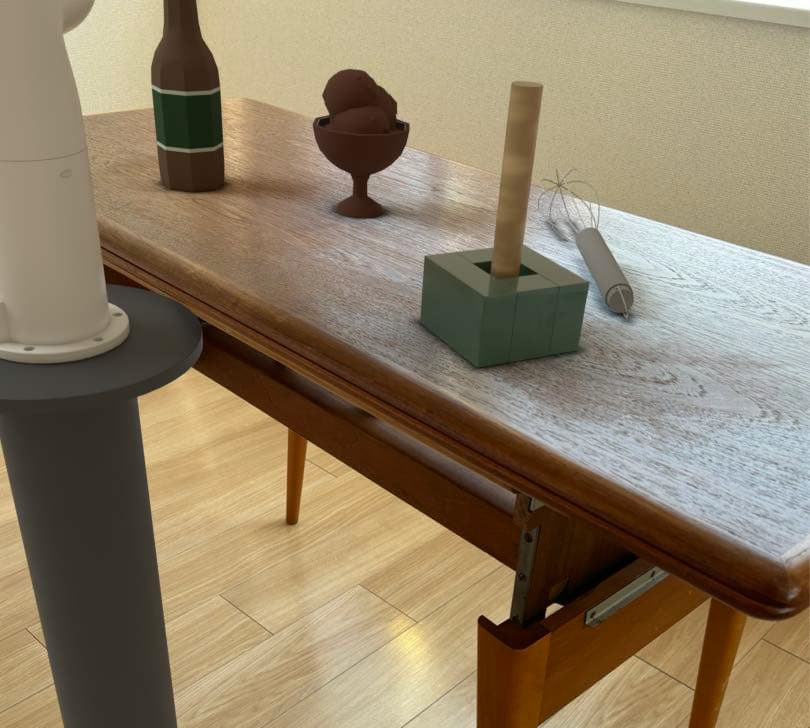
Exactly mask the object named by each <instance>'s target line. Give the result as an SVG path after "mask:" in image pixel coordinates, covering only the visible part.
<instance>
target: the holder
mask: <svg viewBox="0 0 810 728" xmlns="http://www.w3.org/2000/svg"><path fill="white" fill-rule="evenodd" d="M492 254H493V247H486V248H477V249H467V250H461V251H453V252H444V253H435V254H427V255H424V259H423V272H422V287H421V300H420V301H421V302H420V316H419V323H420V324H421V325H422V326H423V327H425V328H426V329H427V330H429V331H430V332H431V333H433V334H434V335H435V336H437V337H438V338H439V339H440V340H441V341H443V342H444V343H446V345H448V346H449V347H450V348H451V349H452V350H454V351H455V352H457V353H458V354H459V355H460V356H462V357H463V358H465V360H466V361H468V362H469V363H470V364H472V365H473V366H474V367H475V368H478V369H479V368H485V367H490V366H496V365H502V364H507V363H513V362H520V361H525V360H530V359H537V358H542V357H543V358H544V357H549V356H554V355H561V354H566V353H571V352H576V351H578V350H579V345H580V340H581V334H582V329H583V323H584V318H585V311H586V306H587V300H588V296H589V295H588V294H589V288H590V281H588V279H585V278H583V277H581V276H580V275H578V274H577V273H574V272H573V271H571V270H569V269H568V268H566V267H564V266H563V265H560V264H559V263H557V262H555V261H554V260H553V259H550V258H548V257H547V256H545V255H543V254H541V253H539V252H538V251H536V250H534V249H533V248H531V247H529V246H527V245H525V244H524V243H523V249H522V257H521V265H520V273H519V277H513V278H505V279H498V280H497V279H496V278H494V277H493V276H491V275H490V272H491V263H492Z"/></svg>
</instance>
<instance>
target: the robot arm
mask: <svg viewBox="0 0 810 728" xmlns="http://www.w3.org/2000/svg"><path fill="white" fill-rule="evenodd" d="M95 1H96V0H0V358H1V359H4V360H8V361H13V362H19V363H29V364H53V363H65V362H72V361H78V360H83V359H87V358H91V357H94V356H97V355H100V354H103V353H105V352H108V351H110V350H112V349H114V348H115V347H117V346H118V345H120V344H121V343H122V342H123V341H124V340H125V339H126V338H127V336H128V334H129V332H130V326H129V319H128V316H127V314H126V313H125V312H124V311H123V310H122V309H120V308H119V307H117V306H115V305H113V304H111V303H108V298H107V291H106V284H107V283H106V276H105V269H104V262H103V255H102V247H101V239H100V231H99V224H98V217H97V209H96V208H97V207H96V201H95V194H94V186H93V180H92V179H93V178H92V172H91V171H92V170H91V164H90V156H89V150H88V144H87V137H86V129H85V123H84V122H85V121H84V116H83V111H82V104H81V99H80V95H79V90H78V86H77V82H76V78H75V74H74V71H73V67H72V64H71V60H70V58H69V54H68V50H67V47H66V43H65V42H66V41H65V38H64V35H65V34H68V33H70V32H71V31H73V30H75V29H76V28H77V27H78V26H80V25H81V24H82V23H83V22H84V21H85V20H86V18H87V17H88V16H89V14H90V13H91V11H92V9H93V7H94V5H95Z"/></svg>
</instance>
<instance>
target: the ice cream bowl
mask: <svg viewBox="0 0 810 728" xmlns="http://www.w3.org/2000/svg"><path fill="white" fill-rule="evenodd" d="M321 97H322V99H323V103H324V106H325V108H326V110H327V112H328V114H327V115H321V116H319V117H315V118H314V120H313V121H312V130H313V135H314V140H315V142H316V144H317V147H318V149H319V151H320V152H321V154H323V156H324V157H325V159H326V160H328V162H330V163H331V164H332V165H334V166H335V167H336V168H338V169H339V170H341V171H343V172H346V173H347V174H350V177H351V180H352V194H351V195H349V196H348V197H346V198H343V200H341V201H339V202H338V204H337V207H336V213H338V214H340V215H342V216H344V217H350V218H357V219H363V218H364V219H365V218H375V217H378V216H381V215H383V207H382V204H381V203H379V202H377V201H376V200H375V199H373V198H372V197H371V196H369V195H368V182H369V179H370V178H371V175H374V174H378V173H381V172H383V171H384V170H386V169H387V168H388V167H391V166H392V165H393V164H394V163H395V162H396V161H397V160H398V159H399V158H400V157H401V156H402V155H403V152H404V150H405V148H406V146H407V143H408V139H409V134H410V131H411V130H410V128H411V127H410V123H409V122H406V121H404V120H401V119H398V118H397V115H398V101H396V99H395V98H394V97H393V96H392V95H391V94H390V93H389V92H388V91H387V90H386V89H385V88H384V87H383V86H382V85H380V84H378V83H377V82H376V81H375V79H374V78H373V77H371V76H370V74H369V73H368V72H366V71H365V70H363V69H355V68H347V69H346V68H345V69H341V70H339V71H337V72H336V73H334V74H333V75H332V76H331V77H330V78H329V79H328V80H327V82H326V84H325V86H324V89H323V91H322V95H321Z"/></svg>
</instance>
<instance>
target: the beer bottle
mask: <svg viewBox="0 0 810 728" xmlns="http://www.w3.org/2000/svg"><path fill="white" fill-rule="evenodd" d="M162 1H163V2H162V3H163V6H162V7H163V27H162V37H161V39H160V41H159V42H158V45H157V46H156V48H155V50H154V53H153V57H152V61H151V65H150V83H151V84H150V85H151V95H152V106H153V115H154V116H153V117H154V129H155V138H156V139H155V140H156V149H157V160H158V168H159V175H160V181H161V183H162V184H163V185H165V186H166V187H168V188H169V190H173V191H181V192H191V193H195V192H206V191H214V190H216V189H218V188H219V187H221V186H222V185H224V183H225V179H226V177H225V169H226V168H225V167H226V165H225V147H224V130H223V115H222V114H223V111H222V93H221V91H222V90H221V81H220V74H219V73H220V72H219V67H218V65H217V62H216V59H215V57H214V54H213V52H212V50H211V49H210V48H209V46H208V44H207V43H206V42H205V40H204V38H203V35H202V30H201V27H200V21H199V14H198V5H197V0H162Z"/></svg>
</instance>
